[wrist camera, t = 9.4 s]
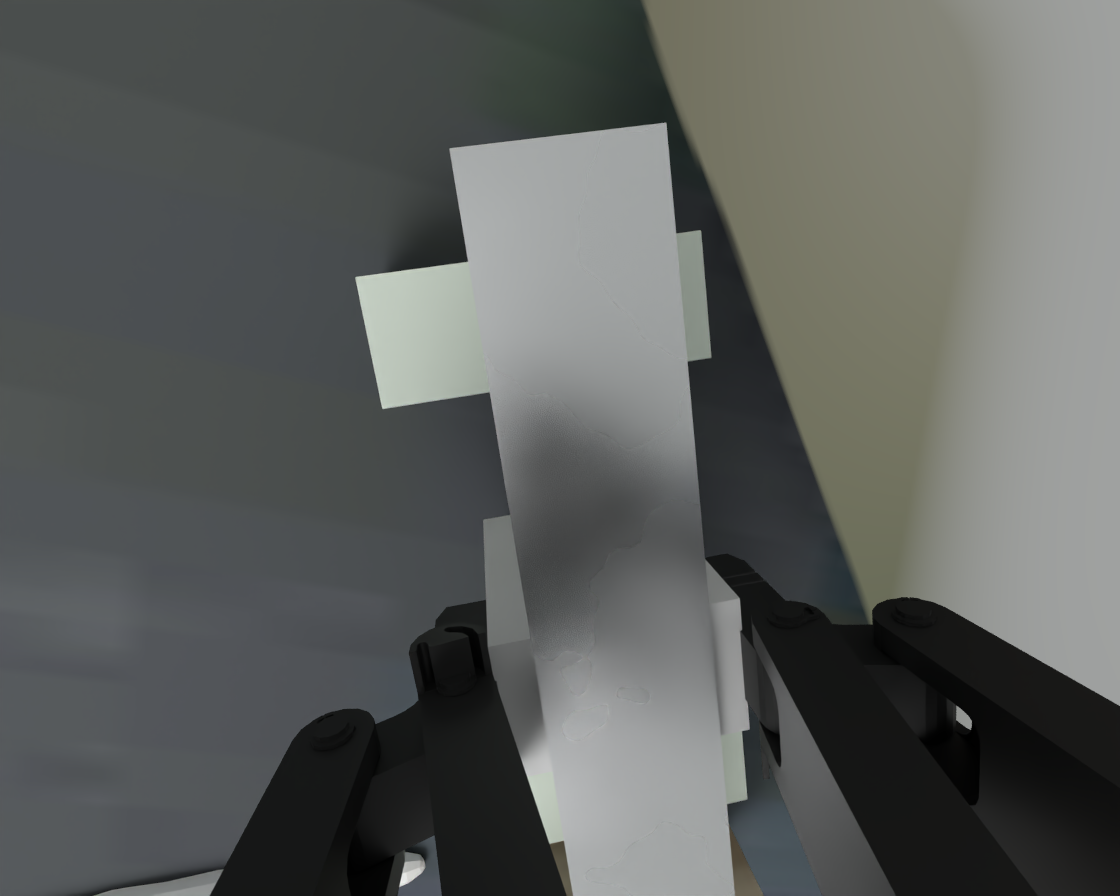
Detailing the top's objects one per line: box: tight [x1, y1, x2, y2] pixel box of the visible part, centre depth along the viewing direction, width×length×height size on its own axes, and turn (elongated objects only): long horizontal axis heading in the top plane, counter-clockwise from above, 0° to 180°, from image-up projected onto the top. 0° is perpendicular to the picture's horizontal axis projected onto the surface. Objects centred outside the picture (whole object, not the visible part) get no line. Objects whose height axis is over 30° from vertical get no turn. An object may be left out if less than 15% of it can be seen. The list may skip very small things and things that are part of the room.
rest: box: [355, 230, 747, 844], centre depth 18 cm, size 16×8×4 cm, turn 8°
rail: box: [449, 123, 735, 896], centre depth 12 cm, size 18×3×3 cm, turn 8°
